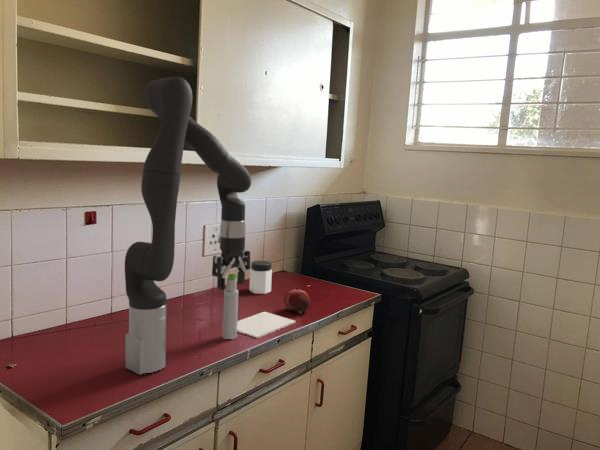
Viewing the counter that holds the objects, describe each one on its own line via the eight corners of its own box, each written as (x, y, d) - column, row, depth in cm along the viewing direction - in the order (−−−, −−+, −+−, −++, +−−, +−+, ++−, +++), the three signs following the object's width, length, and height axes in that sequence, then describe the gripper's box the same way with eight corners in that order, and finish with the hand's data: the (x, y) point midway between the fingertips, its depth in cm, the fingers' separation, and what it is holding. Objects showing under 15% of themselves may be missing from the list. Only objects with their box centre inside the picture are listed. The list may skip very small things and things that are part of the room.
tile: (257, 338, 156) (257, 336, 156) (224, 327, 164) (224, 325, 164) (295, 322, 172) (295, 320, 172) (264, 313, 180) (264, 311, 180)
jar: (274, 293, 205) (275, 264, 203) (255, 295, 201) (256, 265, 199) (264, 287, 213) (265, 259, 211) (246, 289, 209) (247, 261, 207)
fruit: (304, 317, 178) (306, 289, 177) (279, 312, 181) (281, 286, 180) (312, 309, 187) (314, 283, 185) (288, 305, 190) (290, 280, 188)
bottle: (232, 340, 153) (234, 277, 150) (220, 338, 155) (221, 275, 152) (239, 336, 157) (241, 274, 154) (227, 333, 159) (229, 272, 156)
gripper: (225, 239, 143) (223, 294, 146) (257, 233, 155) (255, 284, 157) (206, 235, 147) (205, 289, 150) (239, 230, 159) (238, 279, 161)
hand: (231, 286), depth 154 cm, fingers open, 8 cm apart
